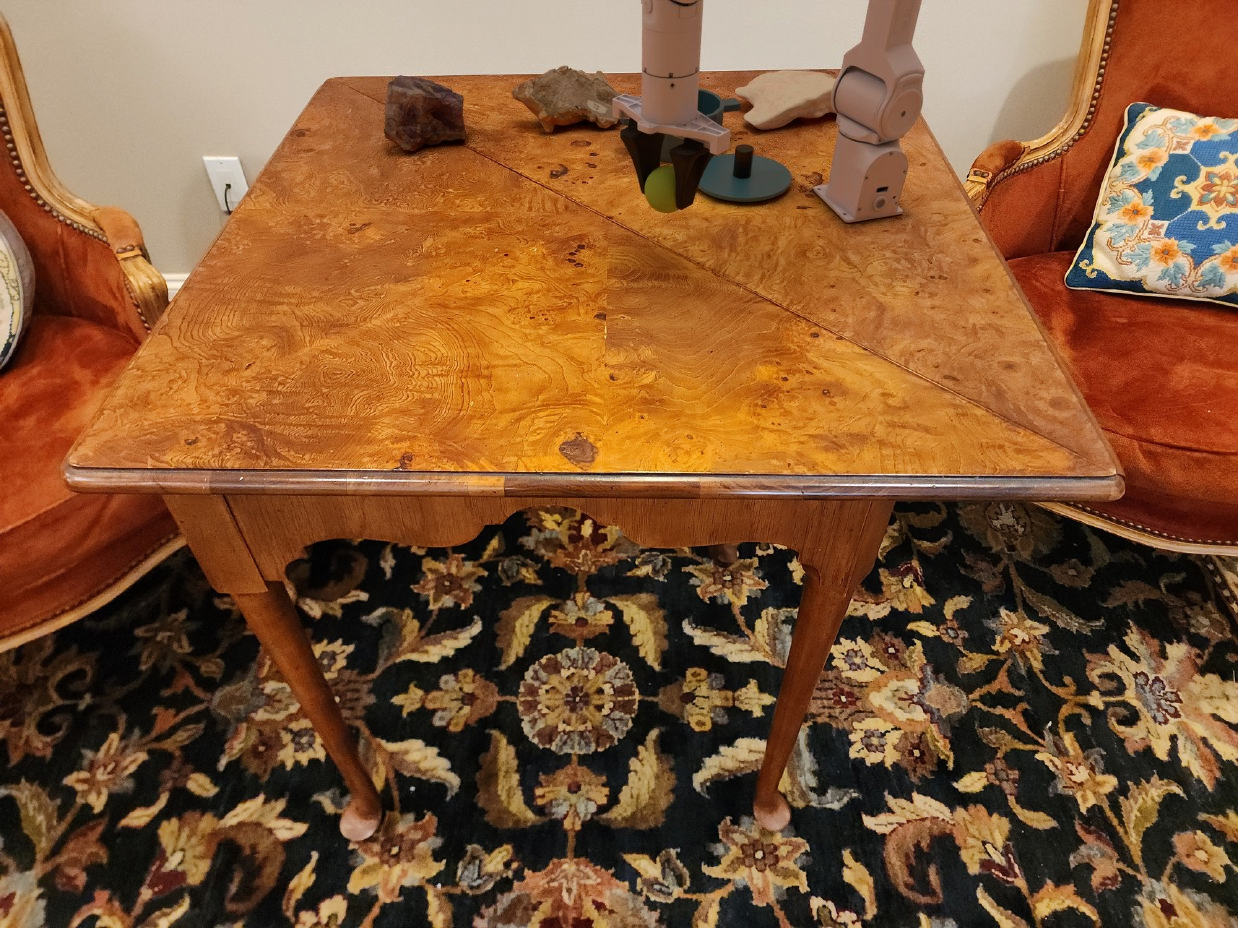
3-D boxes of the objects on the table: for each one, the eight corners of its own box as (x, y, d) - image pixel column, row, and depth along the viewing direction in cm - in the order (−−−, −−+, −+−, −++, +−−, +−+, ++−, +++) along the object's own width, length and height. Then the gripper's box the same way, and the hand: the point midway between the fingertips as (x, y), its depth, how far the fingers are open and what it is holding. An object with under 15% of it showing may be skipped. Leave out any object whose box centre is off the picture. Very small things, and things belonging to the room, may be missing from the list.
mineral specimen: (558, 174, 119) (636, 122, 120) (557, 157, 112) (641, 102, 113) (511, 103, 118) (590, 51, 119) (507, 82, 111) (592, 26, 112)
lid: (807, 197, 99) (813, 162, 96) (712, 212, 97) (715, 177, 93) (766, 156, 108) (770, 122, 105) (678, 168, 106) (680, 134, 102)
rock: (468, 157, 112) (459, 128, 118) (469, 97, 106) (459, 70, 112) (386, 155, 108) (381, 126, 115) (381, 93, 102) (377, 65, 109)
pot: (750, 153, 109) (755, 111, 104) (633, 170, 105) (633, 127, 101) (719, 121, 117) (722, 80, 112) (609, 135, 113) (608, 94, 109)
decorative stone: (840, 55, 124) (888, 82, 113) (835, 88, 127) (881, 117, 116) (717, 70, 120) (754, 99, 109) (715, 104, 123) (751, 135, 113)
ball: (695, 217, 84) (697, 174, 81) (652, 224, 83) (653, 180, 80) (680, 197, 88) (681, 154, 84) (638, 203, 87) (638, 161, 83)
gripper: (590, 62, 76) (595, 190, 86) (701, 98, 69) (693, 234, 79) (637, 44, 80) (637, 169, 90) (748, 77, 73) (735, 209, 82)
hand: (666, 198), depth 85 cm, fingers closed on ball, 5 cm apart
